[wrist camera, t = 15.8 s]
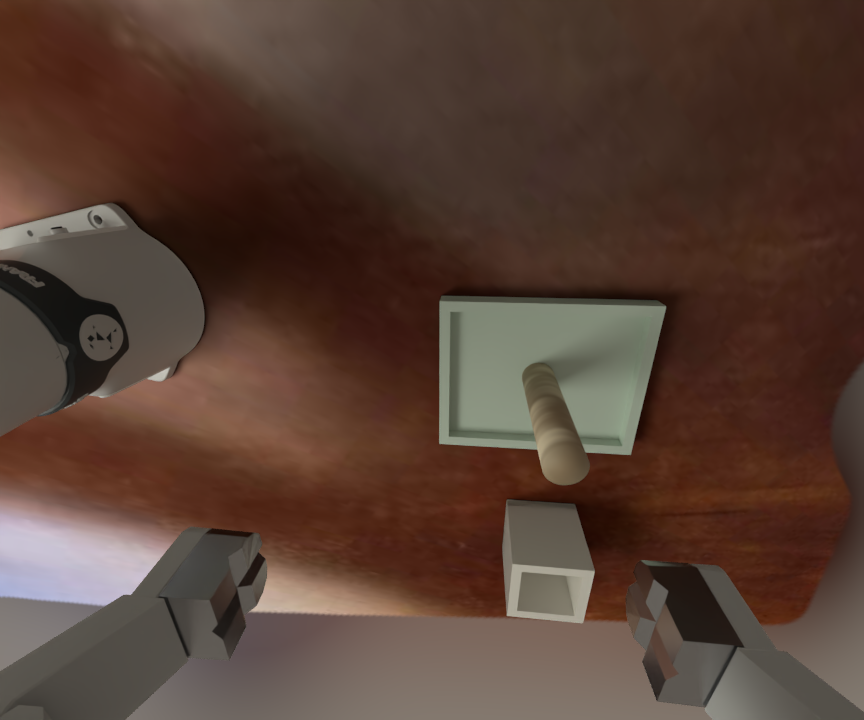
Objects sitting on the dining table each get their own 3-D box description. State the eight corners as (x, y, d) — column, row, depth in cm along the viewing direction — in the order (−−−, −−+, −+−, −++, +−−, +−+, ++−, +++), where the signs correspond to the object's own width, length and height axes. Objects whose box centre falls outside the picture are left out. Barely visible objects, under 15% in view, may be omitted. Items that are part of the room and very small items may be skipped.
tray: (441, 433, 45) (439, 443, 44) (441, 295, 39) (439, 301, 37) (624, 443, 44) (630, 454, 42) (657, 300, 37) (666, 306, 35)
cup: (502, 546, 52) (506, 615, 43) (506, 499, 48) (512, 564, 40) (566, 552, 51) (582, 623, 43) (574, 504, 48) (594, 571, 39)
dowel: (520, 390, 41) (539, 483, 29) (523, 362, 40) (544, 446, 27) (552, 391, 41) (585, 486, 28) (555, 363, 40) (593, 449, 27)
